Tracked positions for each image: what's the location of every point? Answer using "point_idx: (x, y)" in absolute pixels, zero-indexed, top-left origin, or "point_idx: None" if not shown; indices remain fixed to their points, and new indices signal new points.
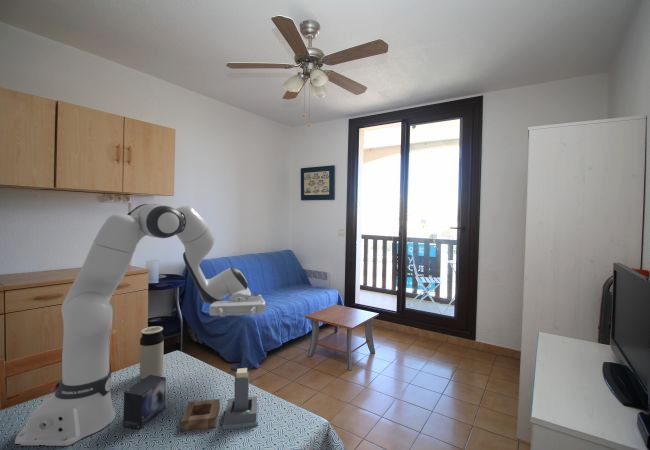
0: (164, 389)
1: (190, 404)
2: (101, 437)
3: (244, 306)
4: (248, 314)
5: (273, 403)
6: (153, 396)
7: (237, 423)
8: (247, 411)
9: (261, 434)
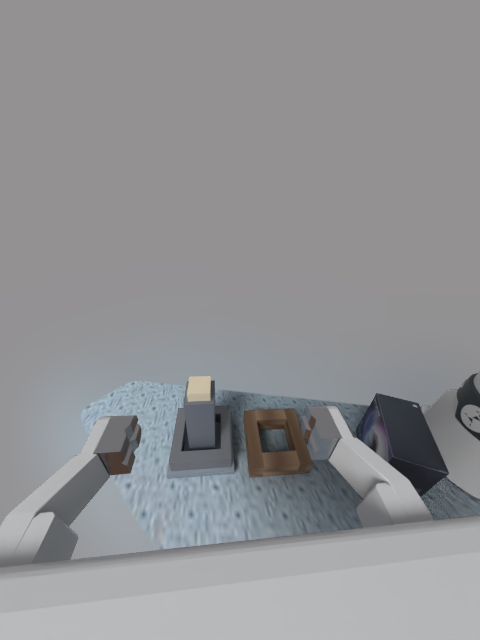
0: None
1: (304, 454)
2: None
3: (137, 554)
4: (139, 427)
5: (132, 484)
6: (372, 428)
7: None
8: None
9: (175, 400)
